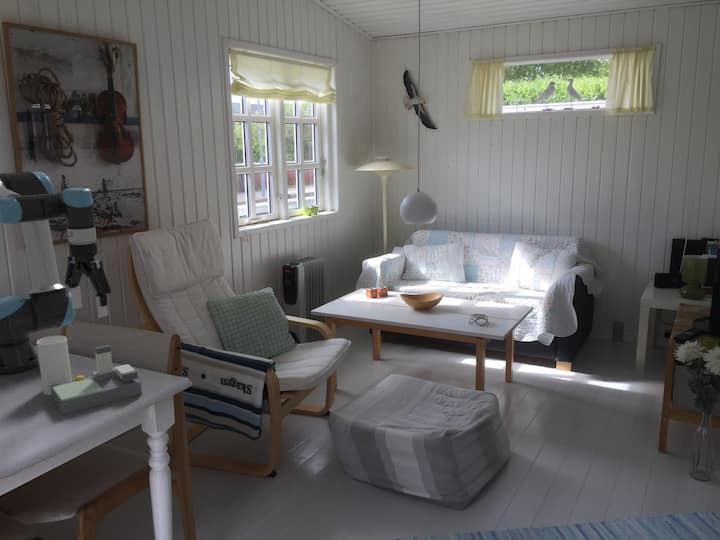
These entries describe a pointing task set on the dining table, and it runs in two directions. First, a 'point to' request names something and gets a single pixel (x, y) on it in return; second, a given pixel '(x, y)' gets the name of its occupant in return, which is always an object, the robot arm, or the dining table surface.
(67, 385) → the panel
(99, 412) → the dining table surface
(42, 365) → the cup
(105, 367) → the light grey rectangular block
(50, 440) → the dining table surface
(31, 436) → the dining table surface
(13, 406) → the dining table surface
